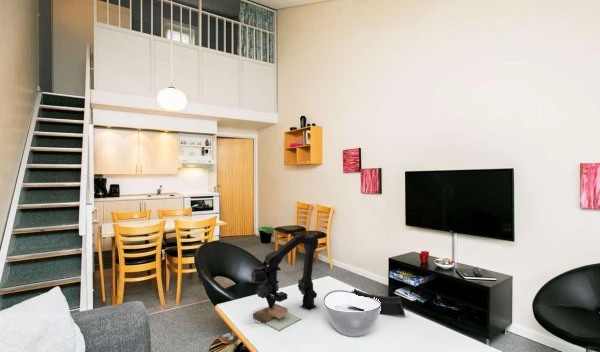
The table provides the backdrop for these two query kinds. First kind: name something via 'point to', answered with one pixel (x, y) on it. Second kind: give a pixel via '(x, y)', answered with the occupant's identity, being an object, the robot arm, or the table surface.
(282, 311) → the terracotta tile
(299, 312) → the table surface
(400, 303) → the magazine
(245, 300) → the table surface
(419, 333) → the table surface
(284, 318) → the green mat
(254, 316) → the walnut stand
